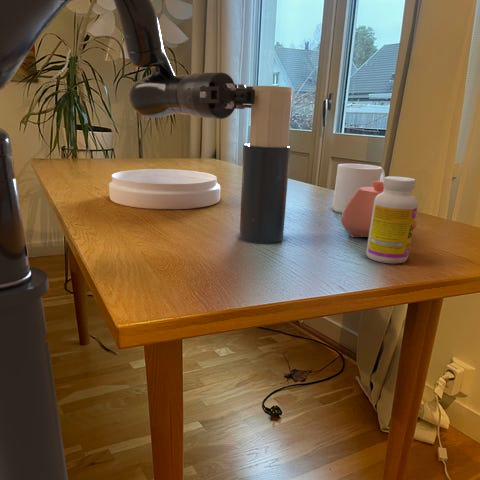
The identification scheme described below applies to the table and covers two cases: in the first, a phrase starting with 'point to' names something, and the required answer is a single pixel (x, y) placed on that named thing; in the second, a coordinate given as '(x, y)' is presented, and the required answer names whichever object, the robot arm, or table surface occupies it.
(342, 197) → the mug
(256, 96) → the beige faceted cylinder
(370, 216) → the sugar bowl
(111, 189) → the plate
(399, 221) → the supplement bottle
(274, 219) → the flask
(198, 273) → the table surface
